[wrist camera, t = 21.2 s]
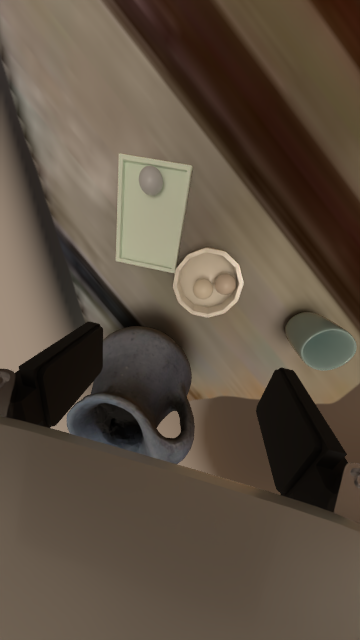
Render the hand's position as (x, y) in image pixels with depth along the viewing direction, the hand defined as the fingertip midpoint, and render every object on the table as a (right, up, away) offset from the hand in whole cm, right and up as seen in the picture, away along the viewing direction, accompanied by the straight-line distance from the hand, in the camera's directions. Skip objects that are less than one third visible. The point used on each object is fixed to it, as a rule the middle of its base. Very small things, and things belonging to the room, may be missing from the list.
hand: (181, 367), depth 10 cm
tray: (-5, +22, +25) cm, 34 cm away
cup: (+25, +2, +29) cm, 38 cm away
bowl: (+6, +11, +28) cm, 30 cm away
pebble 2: (+6, +10, +27) cm, 30 cm away
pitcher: (-5, -4, +36) cm, 37 cm away
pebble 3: (+7, +9, +26) cm, 28 cm away
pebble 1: (-5, +26, +22) cm, 35 cm away
